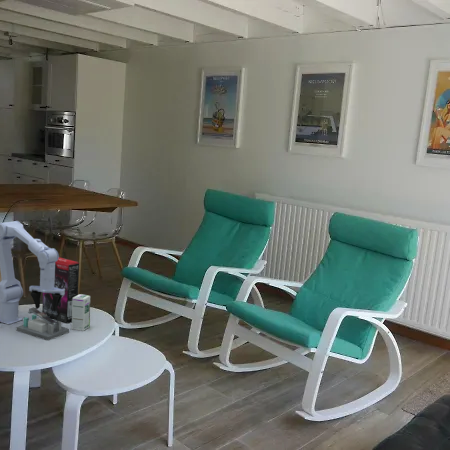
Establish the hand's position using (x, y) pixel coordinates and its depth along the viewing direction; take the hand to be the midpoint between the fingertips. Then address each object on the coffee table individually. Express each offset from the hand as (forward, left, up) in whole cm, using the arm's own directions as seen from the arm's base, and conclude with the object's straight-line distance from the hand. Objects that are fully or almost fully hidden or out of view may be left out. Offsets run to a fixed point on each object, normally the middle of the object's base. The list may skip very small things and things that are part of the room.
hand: (46, 309), depth 220 cm
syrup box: (+8, +13, -10) cm, 18 cm away
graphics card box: (-9, +17, -10) cm, 22 cm away
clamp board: (-2, 0, -10) cm, 10 cm away
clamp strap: (-2, 0, -5) cm, 5 cm away
